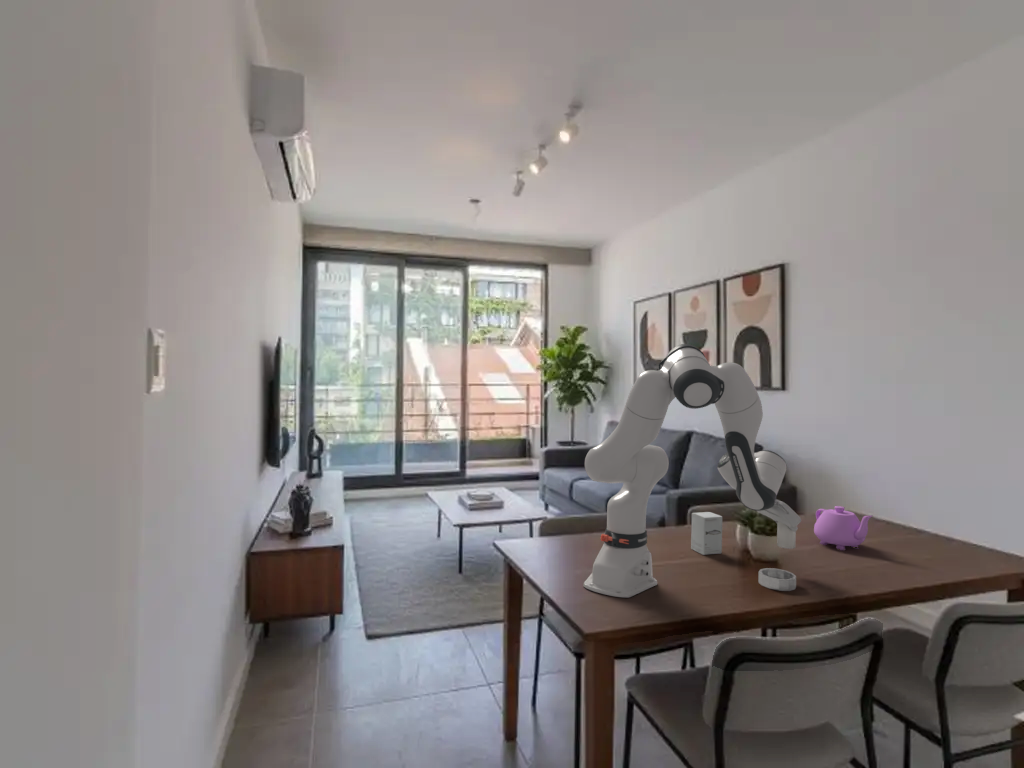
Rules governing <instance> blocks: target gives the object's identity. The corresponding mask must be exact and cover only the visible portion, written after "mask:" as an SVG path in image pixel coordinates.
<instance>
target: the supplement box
mask: <svg viewBox="0 0 1024 768" xmlns="http://www.w3.org/2000/svg"><path fill="white" fill-rule="evenodd" d="M690 533H691V535H690V549H691V550H692V551H695V552H696V553H698V554H700V555H703V556H706V555H716V554H722V551H723V516H722V515H720V514H717V513H714V512H711V511H704V512H692V513H691V532H690Z"/></svg>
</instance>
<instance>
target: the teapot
mask: <svg viewBox="0 0 1024 768" xmlns="http://www.w3.org/2000/svg"><path fill="white" fill-rule="evenodd" d="M845 509H846V508H845V507H844V506H840V505H836V506H834V509H831V508H830V509H826V508H819V509H816V511H815V518H816V521H815V523H814V524H813V527H814V528H813V532H814V535H815V536H816V537H817V538H818V539H819V540H820V542H819V544H820V545H823V546H826V545H827V544H828V545H829V544H831V545H835V546H836V547H835V548H837V549H836V550H838V549H840V550H839V551H845V550H846V547H850V546H851V547H850V548H852V547H859V546H860V545H862V544H863V542H864V541H865V540H866V536H867V535H868V532H869V526H868V525H869V520H870V519H871V518H872V517H873V515H864V516H862V519H861V521H860V519H859V517H858V516H857V515H856V513H854V512H852V511H848V510H845ZM844 549H845V550H844Z"/></svg>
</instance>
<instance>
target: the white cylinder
mask: <svg viewBox="0 0 1024 768" xmlns="http://www.w3.org/2000/svg"><path fill="white" fill-rule="evenodd" d="M776 524H777V525H776V526H777V528H776V530H777V532H776V546H777V547H779V548H782V549H788V550H789V549H790V550H794V549H795V548H796V540H797V539H796V537H797V534H796V533H797V530H796V531H795V532H793V531H791V530H790V529H789V528H788V526H787V525H785V524H783V523H781V522H778V523H776Z"/></svg>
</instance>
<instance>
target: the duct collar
mask: <svg viewBox="0 0 1024 768" xmlns="http://www.w3.org/2000/svg"><path fill="white" fill-rule="evenodd" d="M758 584H760V585H761V586H762V587H765V588H766V589H770V590H775V591H778V592H779V591H781V592H790V591H794V590H796V588H797V575H795V573H793V572H791V571H789V570H786V569H780V568H775V567H774V568H773V567H772V568H771V567H769V568H768V567H766V568H760V569H759V571H758Z"/></svg>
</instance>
